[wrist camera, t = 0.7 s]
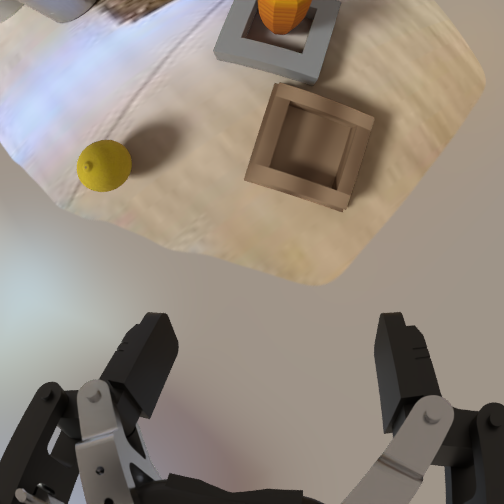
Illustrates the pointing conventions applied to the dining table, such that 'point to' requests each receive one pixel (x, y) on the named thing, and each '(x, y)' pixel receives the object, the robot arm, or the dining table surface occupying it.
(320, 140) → the square wooden tray
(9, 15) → the lumpy-topped squat cylinder
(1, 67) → the dining table surface
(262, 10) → the carrot
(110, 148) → the lemon
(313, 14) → the socket block
